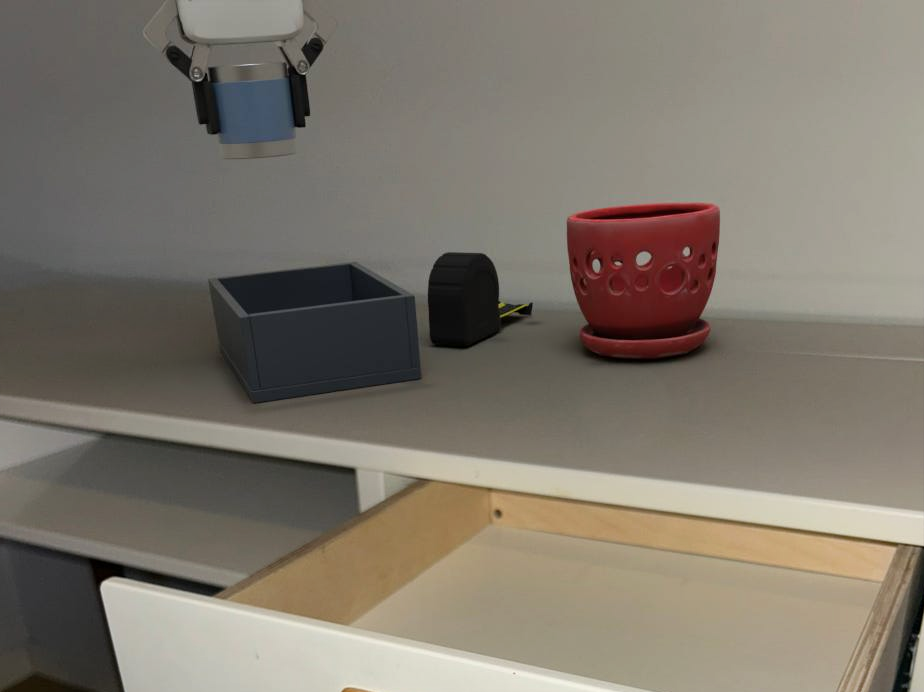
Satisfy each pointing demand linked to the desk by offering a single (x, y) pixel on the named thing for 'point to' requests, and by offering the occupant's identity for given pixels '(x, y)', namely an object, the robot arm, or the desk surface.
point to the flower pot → (644, 277)
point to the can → (254, 110)
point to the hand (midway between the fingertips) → (256, 128)
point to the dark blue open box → (315, 330)
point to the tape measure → (466, 299)
